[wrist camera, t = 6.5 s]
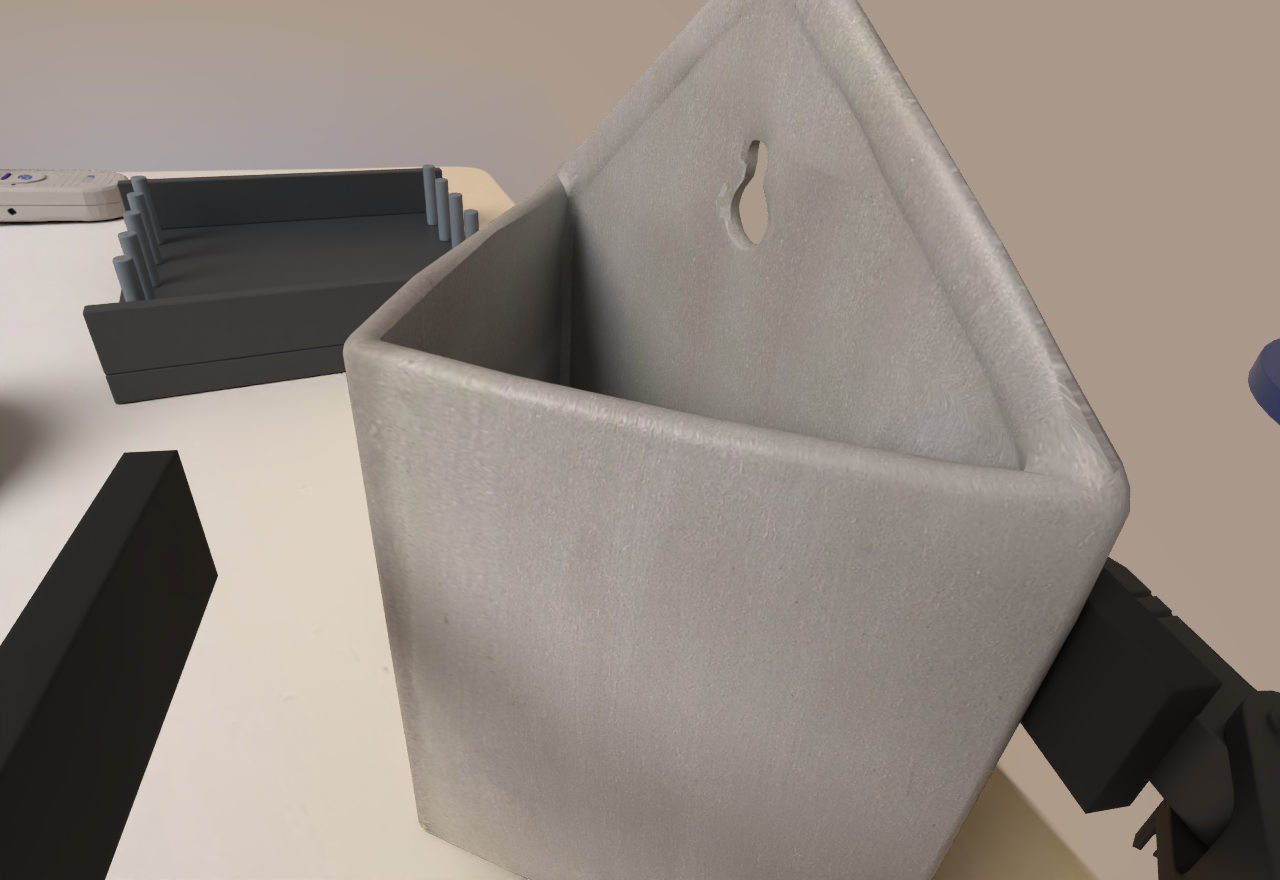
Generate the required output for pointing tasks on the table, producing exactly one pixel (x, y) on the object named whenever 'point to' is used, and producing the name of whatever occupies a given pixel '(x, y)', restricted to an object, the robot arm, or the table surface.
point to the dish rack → (262, 273)
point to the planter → (727, 483)
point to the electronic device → (59, 195)
